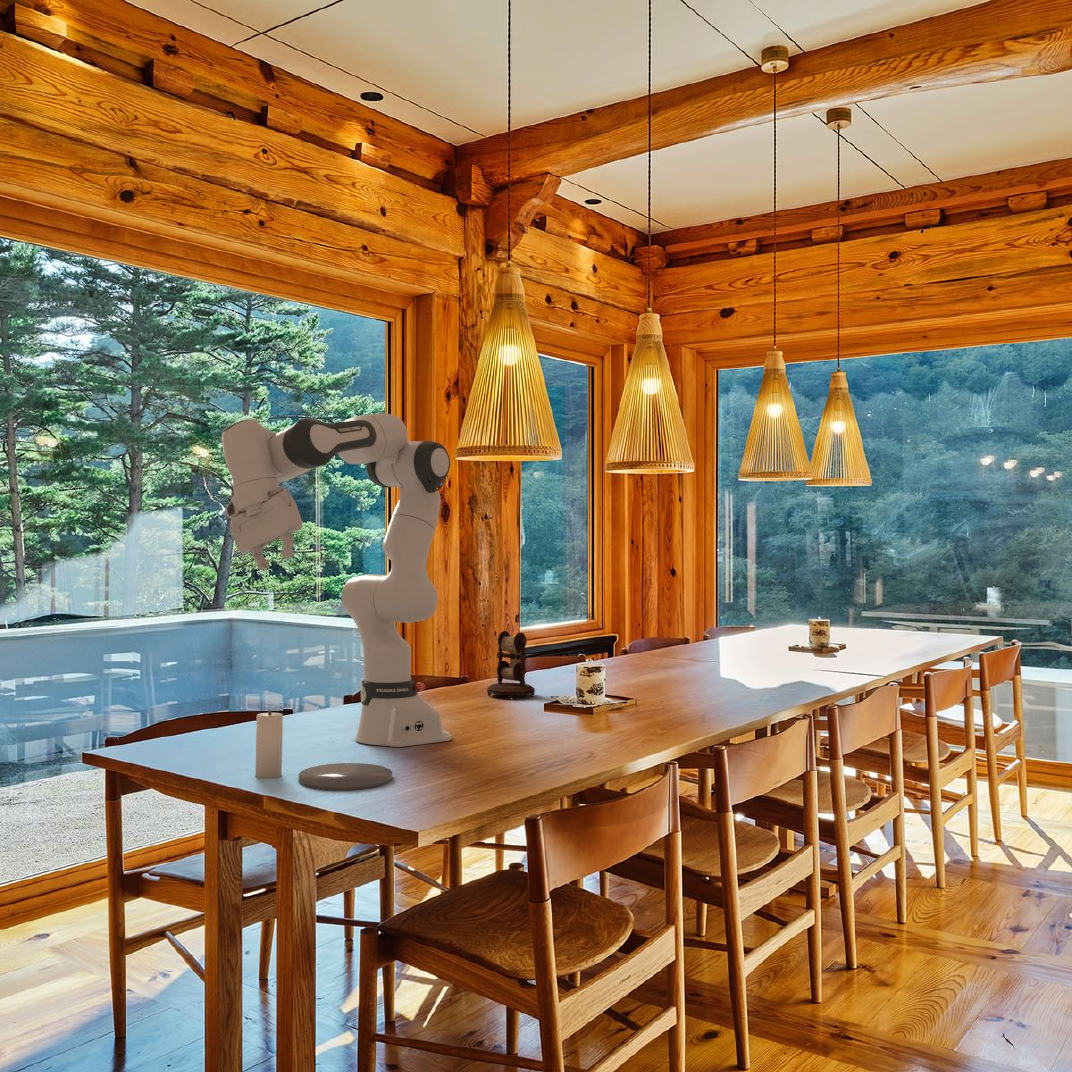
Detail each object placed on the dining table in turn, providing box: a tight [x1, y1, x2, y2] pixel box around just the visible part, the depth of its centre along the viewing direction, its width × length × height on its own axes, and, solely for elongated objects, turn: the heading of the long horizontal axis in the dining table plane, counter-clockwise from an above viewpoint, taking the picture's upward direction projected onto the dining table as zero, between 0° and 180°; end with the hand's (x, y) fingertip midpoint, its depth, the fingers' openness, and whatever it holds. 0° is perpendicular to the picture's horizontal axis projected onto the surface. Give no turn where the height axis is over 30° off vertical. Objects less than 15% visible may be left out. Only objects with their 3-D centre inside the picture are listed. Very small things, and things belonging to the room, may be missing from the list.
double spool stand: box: [486, 630, 536, 699], centre depth 306 cm, size 15×15×20 cm
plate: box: [298, 762, 393, 792], centre depth 194 cm, size 18×18×1 cm
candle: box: [254, 710, 284, 779], centre depth 196 cm, size 5×5×13 cm
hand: (276, 563), depth 199 cm, fingers open, 8 cm apart
